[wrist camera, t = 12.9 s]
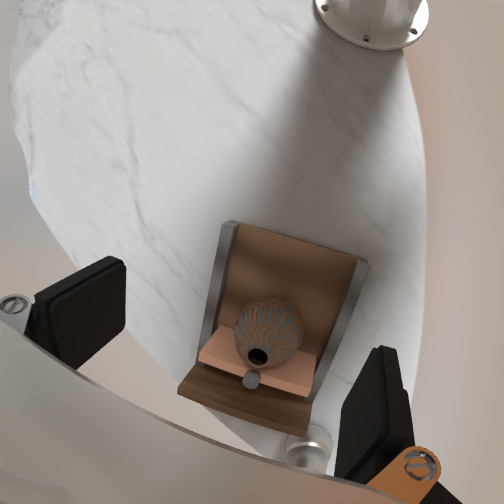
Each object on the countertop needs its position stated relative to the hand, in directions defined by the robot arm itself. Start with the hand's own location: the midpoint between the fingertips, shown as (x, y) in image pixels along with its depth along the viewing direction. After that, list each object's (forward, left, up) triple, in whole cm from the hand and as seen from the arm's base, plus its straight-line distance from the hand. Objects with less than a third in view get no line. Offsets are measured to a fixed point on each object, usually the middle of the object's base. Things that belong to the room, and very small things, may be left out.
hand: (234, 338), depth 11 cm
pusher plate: (+14, 0, -23) cm, 27 cm away
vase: (+10, 0, -23) cm, 25 cm away
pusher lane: (+11, 0, -23) cm, 25 cm away
